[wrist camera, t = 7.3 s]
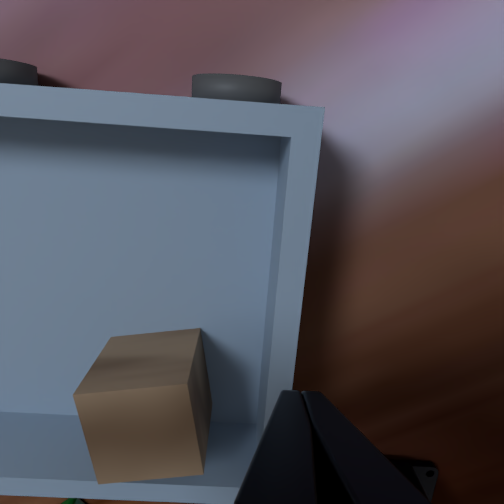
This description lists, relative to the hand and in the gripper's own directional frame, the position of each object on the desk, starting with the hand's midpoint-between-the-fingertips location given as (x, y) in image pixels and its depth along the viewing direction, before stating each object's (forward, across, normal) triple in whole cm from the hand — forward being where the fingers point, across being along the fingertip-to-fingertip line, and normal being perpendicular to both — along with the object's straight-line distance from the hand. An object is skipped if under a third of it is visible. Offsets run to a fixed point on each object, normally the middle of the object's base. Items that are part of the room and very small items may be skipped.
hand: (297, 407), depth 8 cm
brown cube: (+10, +5, +6) cm, 13 cm away
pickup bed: (+12, +7, +2) cm, 14 cm away
